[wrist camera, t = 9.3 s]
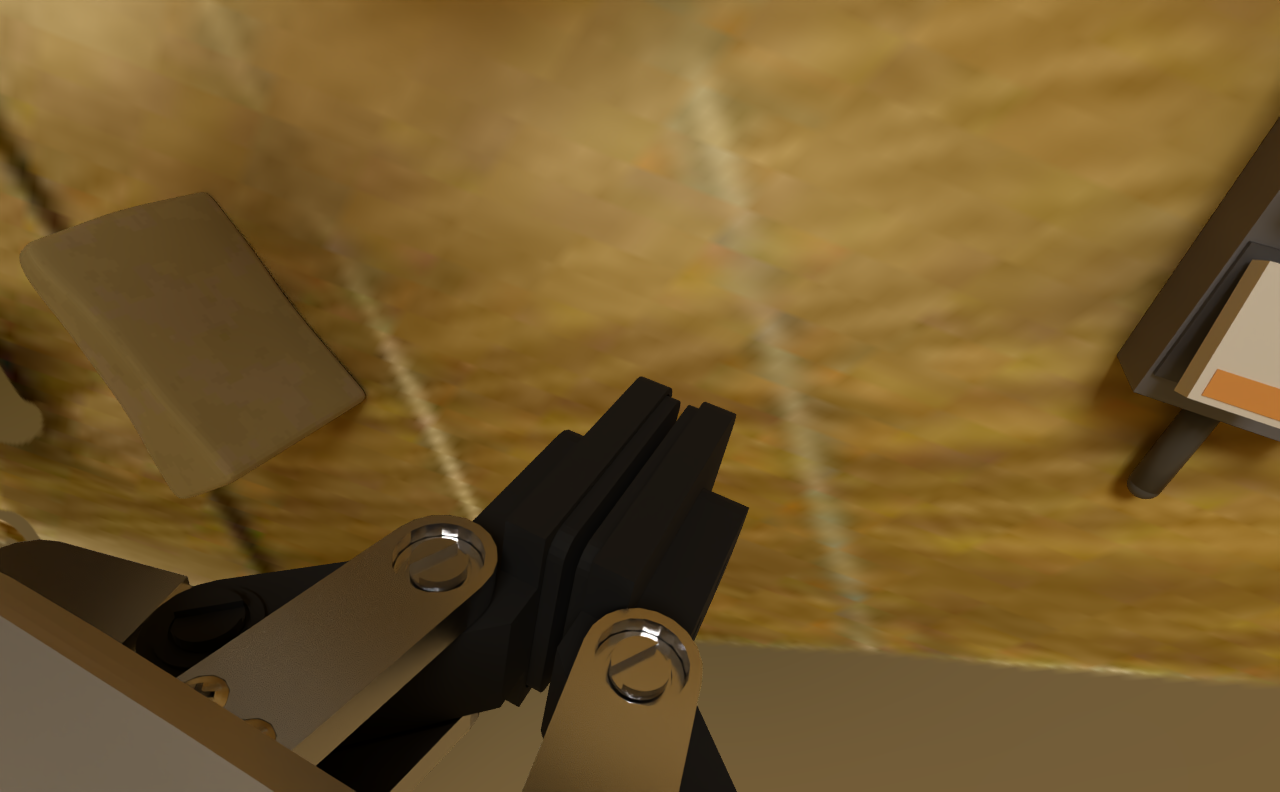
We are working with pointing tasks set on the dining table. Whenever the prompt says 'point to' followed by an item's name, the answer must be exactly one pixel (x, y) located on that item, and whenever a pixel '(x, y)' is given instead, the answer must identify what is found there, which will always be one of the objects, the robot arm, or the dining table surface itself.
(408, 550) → the robot arm
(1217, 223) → the power strip
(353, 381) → the beige slab
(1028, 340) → the dining table surface
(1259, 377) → the block
